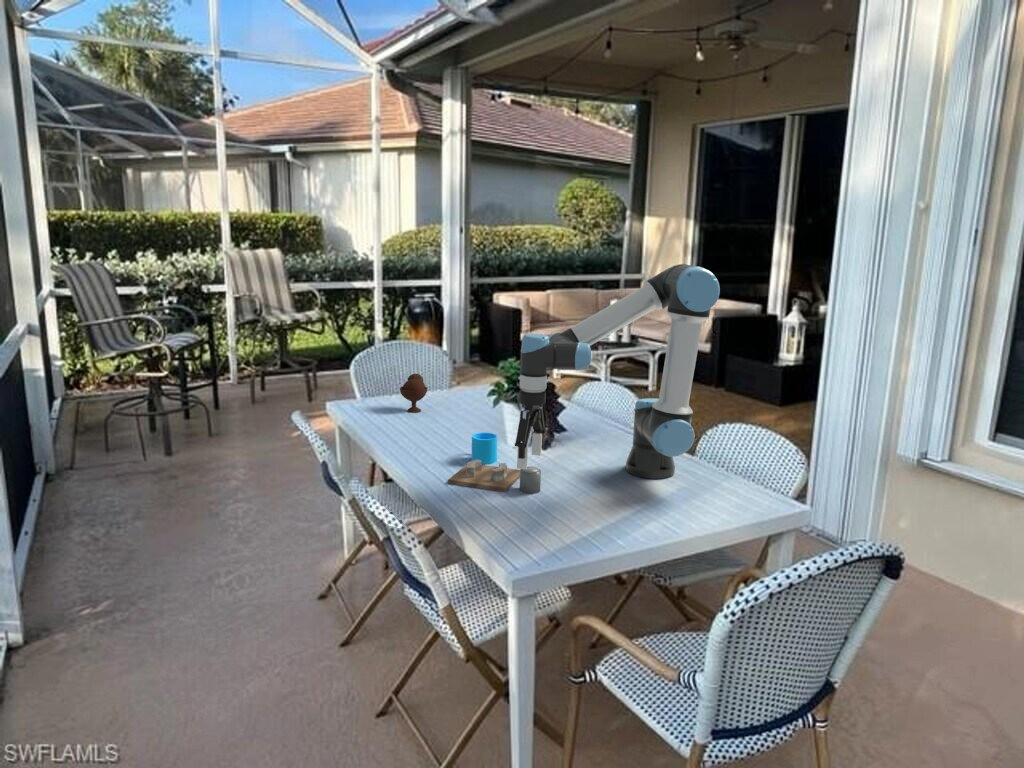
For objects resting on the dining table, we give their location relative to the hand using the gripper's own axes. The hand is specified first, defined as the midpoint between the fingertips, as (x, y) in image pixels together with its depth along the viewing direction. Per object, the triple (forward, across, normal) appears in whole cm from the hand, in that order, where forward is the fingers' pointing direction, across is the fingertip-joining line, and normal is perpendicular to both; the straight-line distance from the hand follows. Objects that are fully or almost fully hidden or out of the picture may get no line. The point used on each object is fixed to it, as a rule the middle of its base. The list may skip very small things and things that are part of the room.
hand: (529, 461), depth 214 cm
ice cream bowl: (+9, -65, -68) cm, 95 cm away
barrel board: (+9, -4, -14) cm, 17 cm away
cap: (+9, 0, 0) cm, 9 cm away
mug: (+9, -21, -22) cm, 32 cm away
